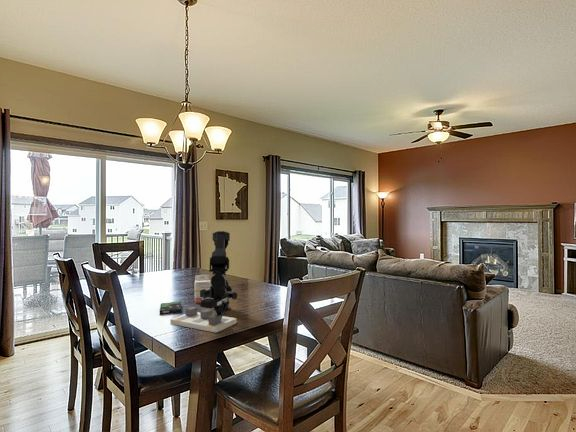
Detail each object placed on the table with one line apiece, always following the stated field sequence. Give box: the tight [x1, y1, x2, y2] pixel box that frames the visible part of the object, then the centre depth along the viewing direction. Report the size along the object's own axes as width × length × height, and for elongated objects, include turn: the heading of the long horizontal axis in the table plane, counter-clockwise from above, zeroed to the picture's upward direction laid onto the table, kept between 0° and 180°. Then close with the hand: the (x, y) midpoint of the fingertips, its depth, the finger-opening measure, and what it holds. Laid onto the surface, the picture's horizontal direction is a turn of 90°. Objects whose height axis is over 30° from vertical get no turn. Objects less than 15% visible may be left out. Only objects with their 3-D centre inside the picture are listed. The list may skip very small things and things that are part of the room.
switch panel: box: [169, 311, 238, 333], centre depth 154 cm, size 14×26×2 cm, turn 62°
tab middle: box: [200, 308, 213, 319], centre depth 155 cm, size 4×4×3 cm
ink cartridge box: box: [194, 274, 212, 304], centre depth 191 cm, size 9×5×15 cm, turn 110°
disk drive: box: [159, 301, 182, 316], centre depth 175 cm, size 10×3×15 cm
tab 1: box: [185, 306, 198, 316], centre depth 159 cm, size 4×4×3 cm
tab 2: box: [208, 314, 221, 325], centre depth 147 cm, size 4×4×3 cm
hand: (220, 318), depth 150 cm, fingers closed
